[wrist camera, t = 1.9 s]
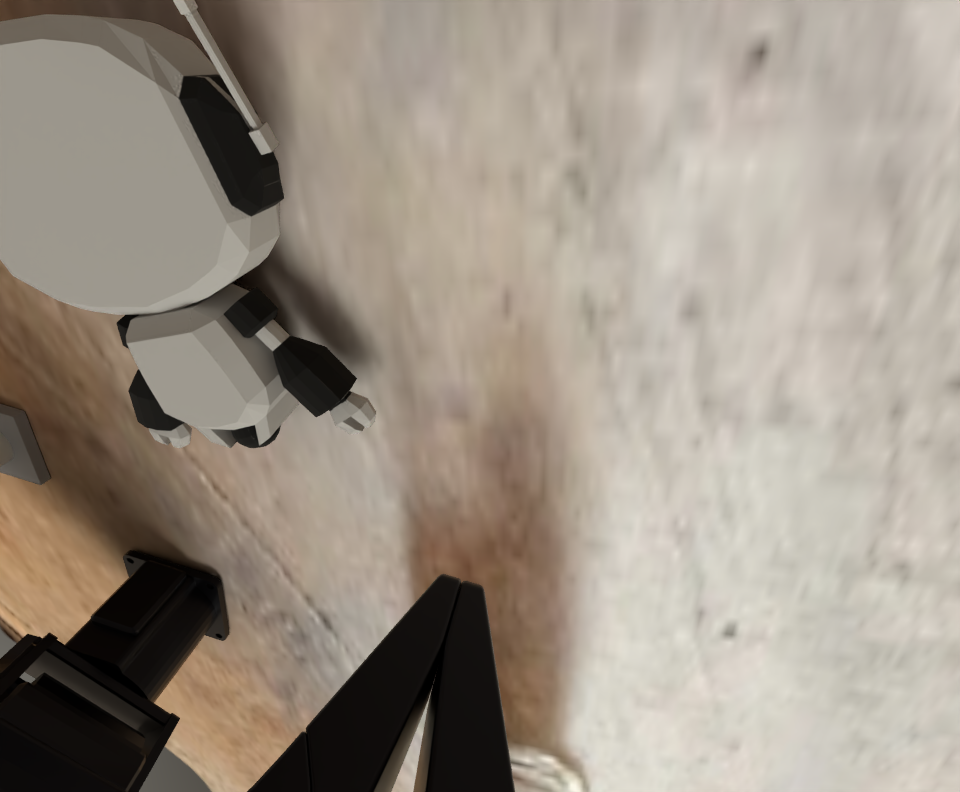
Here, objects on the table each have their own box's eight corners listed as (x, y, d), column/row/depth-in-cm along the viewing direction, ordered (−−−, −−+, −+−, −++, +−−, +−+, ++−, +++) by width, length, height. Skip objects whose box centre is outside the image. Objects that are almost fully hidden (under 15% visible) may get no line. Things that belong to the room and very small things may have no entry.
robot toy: (414, 393, 22) (253, -37, 14) (378, 461, 18) (133, -70, 10) (199, 415, 25) (-25, 83, 18) (132, 476, 22) (-187, 90, 14)
